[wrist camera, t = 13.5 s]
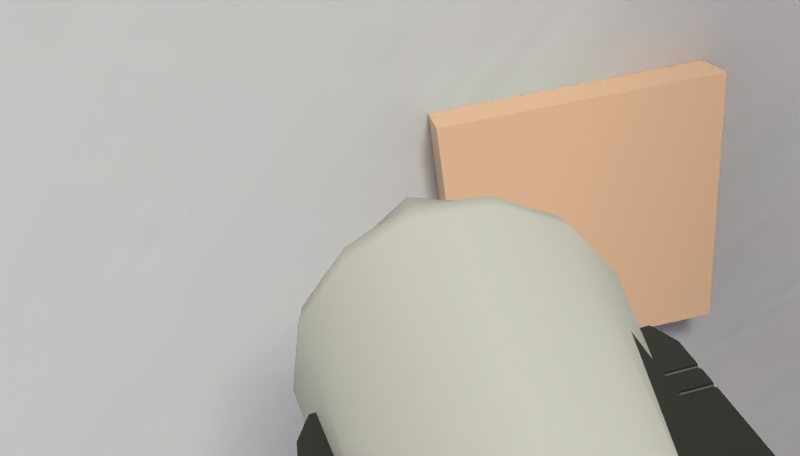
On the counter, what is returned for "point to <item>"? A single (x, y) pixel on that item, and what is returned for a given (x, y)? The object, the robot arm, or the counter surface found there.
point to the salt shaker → (475, 341)
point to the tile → (607, 173)
